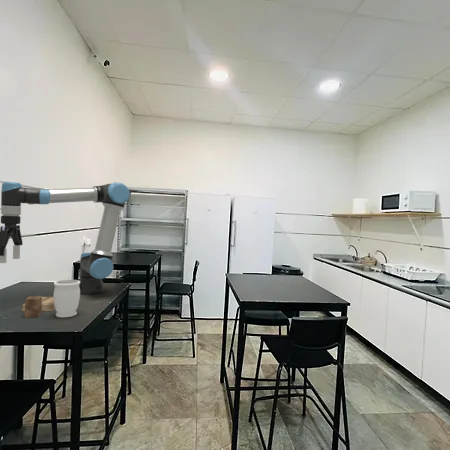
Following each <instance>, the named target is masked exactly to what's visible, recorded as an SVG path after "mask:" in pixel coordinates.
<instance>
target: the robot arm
mask: <svg viewBox="0 0 450 450" xmlns="http://www.w3.org/2000/svg"><path fill="white" fill-rule="evenodd" d="M0 193H1V197H0V200H1V201H0V206H1V207H0V214H1V215H0V224H3V225H1V226H0V264H7V260H8V259H7V255H8V253H7V251H8V249H7V245H8V243H9V240H10V238H11V240H12V242H13V245H12V260H15V259H16V260H20V259H21V246H23V238H22V232H21V225H20V224H21V219H22V217H21V215H22V209H21V208H22V206H21V205H22V204H27V205H49V204H59V203H60V204H61V203H62V204H63V203H74V202H75V203H78V202H79V203H80V202H93V203H96V204H97V203H102V206H103V207H104V209H103V213H102V217H101V221H100V225H99V231H98V234H97V238H96V243H95V248H94V249H93V250H91V252H83V253H81V254H80V258H79V260H80V265H79V267H80V268H79V269H80V271H79V272H80V273H79V280H78V281H80V284H79V287H80V295H95V294H100V293H103V292H104V291H105V285H104V281H103V279H106V278H108V277H109V276H111V274H112V273H113V271H114V263H113V258H114V255H113V254H112V249H113V245H114V241H115V236H116V233H117V232H116V231H117V228H118V227H117V226H118V224H119V223H118V222H119V219H120V213H121V211H122V210H124V208H125V204H126V203H127V202H128V200H129V199H130V194H131V193H130V189H129V187H128V186H127V185H126V184H124V183H121V182H112V183H107V184H106V183H105V184H103V185H93V186H92V187H82V188H81V187H80V188H79V187H77V188H48V189H45V188H33V187H32V188H31V187H23V185H22V183H20V182H14V181H4V182H3V183H2V184H1V191H0Z"/></svg>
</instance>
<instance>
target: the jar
mask: <svg viewBox="0 0 450 450" xmlns="http://www.w3.org/2000/svg"><path fill="white" fill-rule="evenodd" d="M79 284H80V281H79V280H77V279H63V280H62V279H61V280H58V281H57V280H56V281H54V282H53V285H54V290H53V297H54V305H55V311H56V313H55V317H57V318H70V317H74V316H76V315H78V312H77V308H78V307H79V302H80V299H81V294H80V287H79Z"/></svg>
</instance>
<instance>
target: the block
mask: <svg viewBox="0 0 450 450" xmlns="http://www.w3.org/2000/svg"><path fill="white" fill-rule="evenodd" d="M42 297H43V296H42V295H35V296H30V295H29V296H28V297H27V298H25V299H24V300H25V301H24V303H25V312H24V318H26V319H29V318H39V317H40V315H42V312H43V311H42Z"/></svg>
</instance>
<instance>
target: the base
mask: <svg viewBox="0 0 450 450" xmlns="http://www.w3.org/2000/svg"><path fill="white" fill-rule="evenodd" d="M54 311H56V309H55V305H54V296H42V311H41V312H54ZM21 312H22V313H25V302H24V303H23V304H22V305H21Z"/></svg>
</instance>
